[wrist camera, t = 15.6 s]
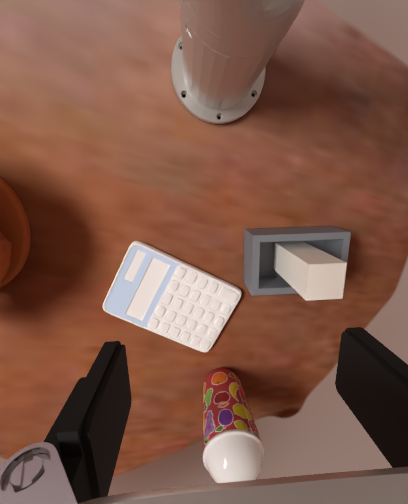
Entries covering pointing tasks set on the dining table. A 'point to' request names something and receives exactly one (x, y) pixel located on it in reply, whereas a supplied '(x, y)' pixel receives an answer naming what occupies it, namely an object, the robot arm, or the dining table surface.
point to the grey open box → (262, 253)
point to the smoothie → (229, 430)
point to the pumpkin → (12, 234)
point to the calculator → (170, 297)
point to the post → (309, 270)
